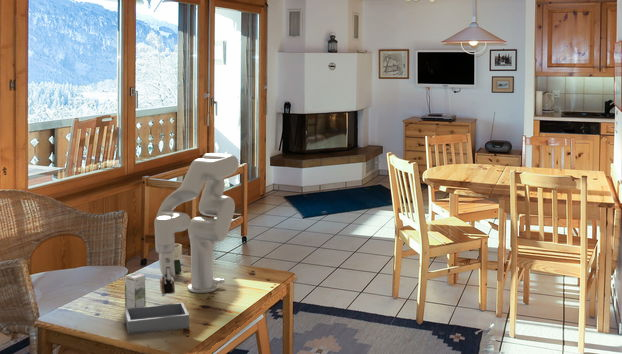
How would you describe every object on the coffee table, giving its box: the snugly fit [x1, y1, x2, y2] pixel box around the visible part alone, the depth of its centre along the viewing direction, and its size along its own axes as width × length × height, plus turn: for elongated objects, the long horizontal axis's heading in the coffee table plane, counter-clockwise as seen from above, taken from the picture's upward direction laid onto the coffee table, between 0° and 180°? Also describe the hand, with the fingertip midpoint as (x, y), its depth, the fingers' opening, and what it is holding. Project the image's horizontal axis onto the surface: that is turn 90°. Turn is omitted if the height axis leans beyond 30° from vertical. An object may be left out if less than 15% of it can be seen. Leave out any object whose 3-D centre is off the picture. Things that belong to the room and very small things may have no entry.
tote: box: [124, 302, 190, 336], centre depth 266 cm, size 22×14×5 cm, turn 109°
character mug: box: [173, 243, 183, 274], centre depth 329 cm, size 11×7×13 cm, turn 33°
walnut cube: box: [159, 276, 176, 295], centre depth 285 cm, size 5×5×5 cm
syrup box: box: [124, 271, 147, 309], centre depth 280 cm, size 6×6×14 cm
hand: (167, 290), depth 285 cm, fingers closed on walnut cube, 4 cm apart
